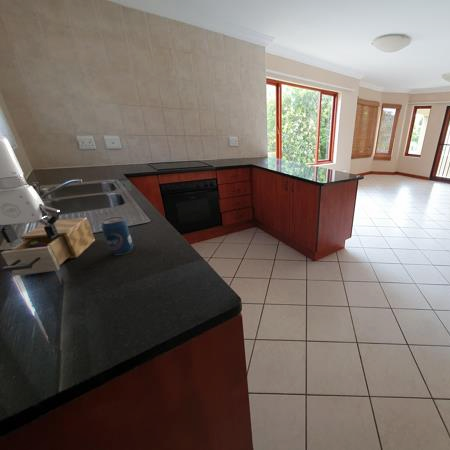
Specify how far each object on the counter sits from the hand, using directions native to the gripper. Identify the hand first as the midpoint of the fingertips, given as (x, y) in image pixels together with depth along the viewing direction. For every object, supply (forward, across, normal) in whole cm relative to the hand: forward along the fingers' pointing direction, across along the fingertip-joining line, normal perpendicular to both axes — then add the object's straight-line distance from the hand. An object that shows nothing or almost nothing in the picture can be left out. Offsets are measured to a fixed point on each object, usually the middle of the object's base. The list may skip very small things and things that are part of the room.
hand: (33, 238), depth 71 cm
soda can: (+10, +19, +5) cm, 22 cm away
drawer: (+9, 0, -1) cm, 9 cm away
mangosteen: (+8, 0, 0) cm, 8 cm away
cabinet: (+10, 0, +11) cm, 15 cm away
